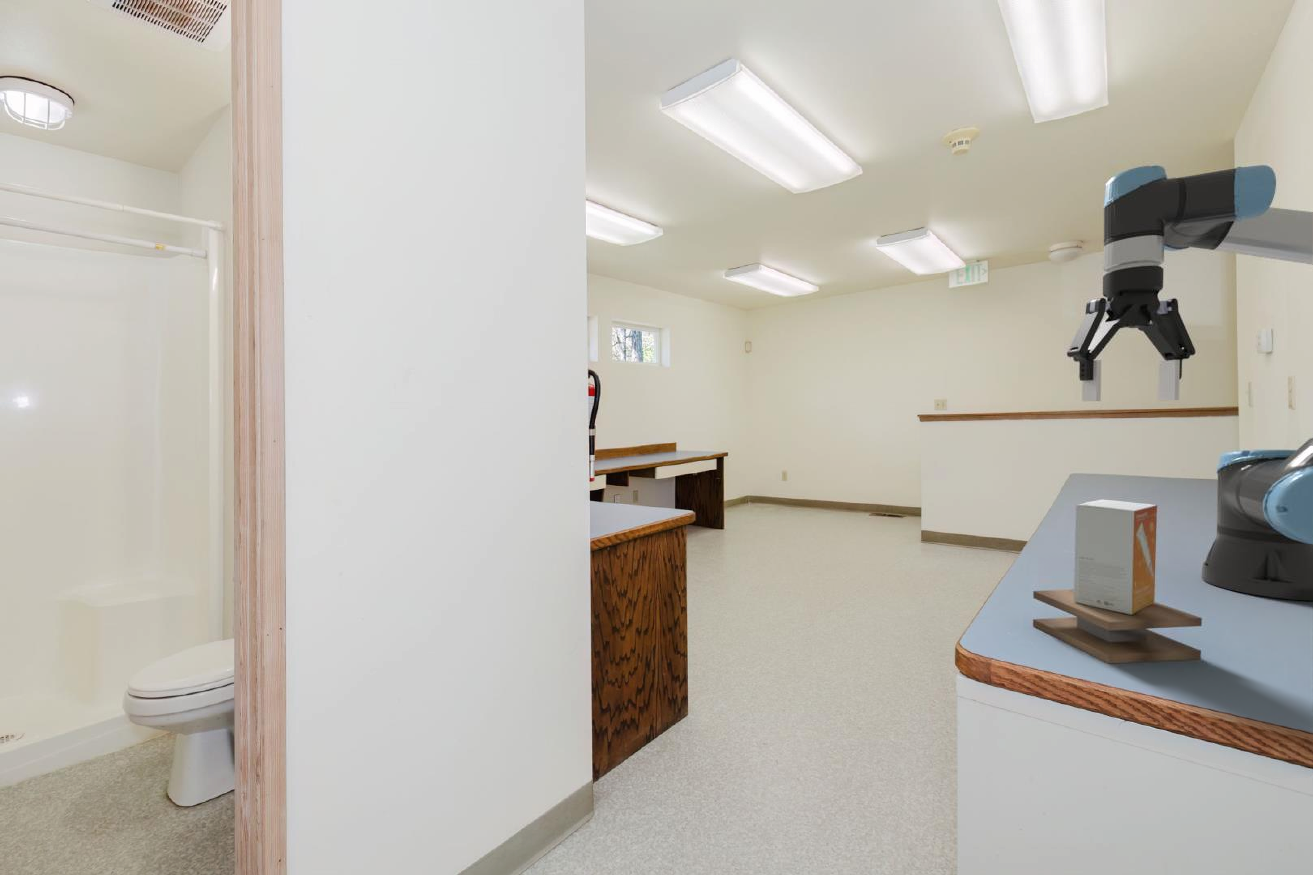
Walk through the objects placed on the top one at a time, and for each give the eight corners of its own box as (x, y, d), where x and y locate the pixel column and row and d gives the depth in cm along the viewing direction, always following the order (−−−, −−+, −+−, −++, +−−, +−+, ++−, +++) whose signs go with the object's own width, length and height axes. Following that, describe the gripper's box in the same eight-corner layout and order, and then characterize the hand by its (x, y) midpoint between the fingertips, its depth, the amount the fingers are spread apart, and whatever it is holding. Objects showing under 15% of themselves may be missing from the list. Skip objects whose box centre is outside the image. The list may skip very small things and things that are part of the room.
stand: (1112, 622, 80) (1113, 587, 80) (1200, 658, 68) (1201, 617, 68) (1032, 626, 79) (1033, 590, 79) (1108, 663, 67) (1109, 622, 67)
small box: (1133, 616, 68) (1135, 510, 68) (1072, 602, 74) (1073, 503, 73) (1156, 603, 73) (1158, 503, 72) (1097, 591, 78) (1099, 498, 78)
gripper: (1179, 276, 96) (1177, 400, 96) (1042, 275, 94) (1040, 402, 94) (1228, 264, 88) (1224, 399, 89) (1079, 262, 86) (1077, 400, 87)
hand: (1130, 401), depth 92 cm, fingers open, 13 cm apart
